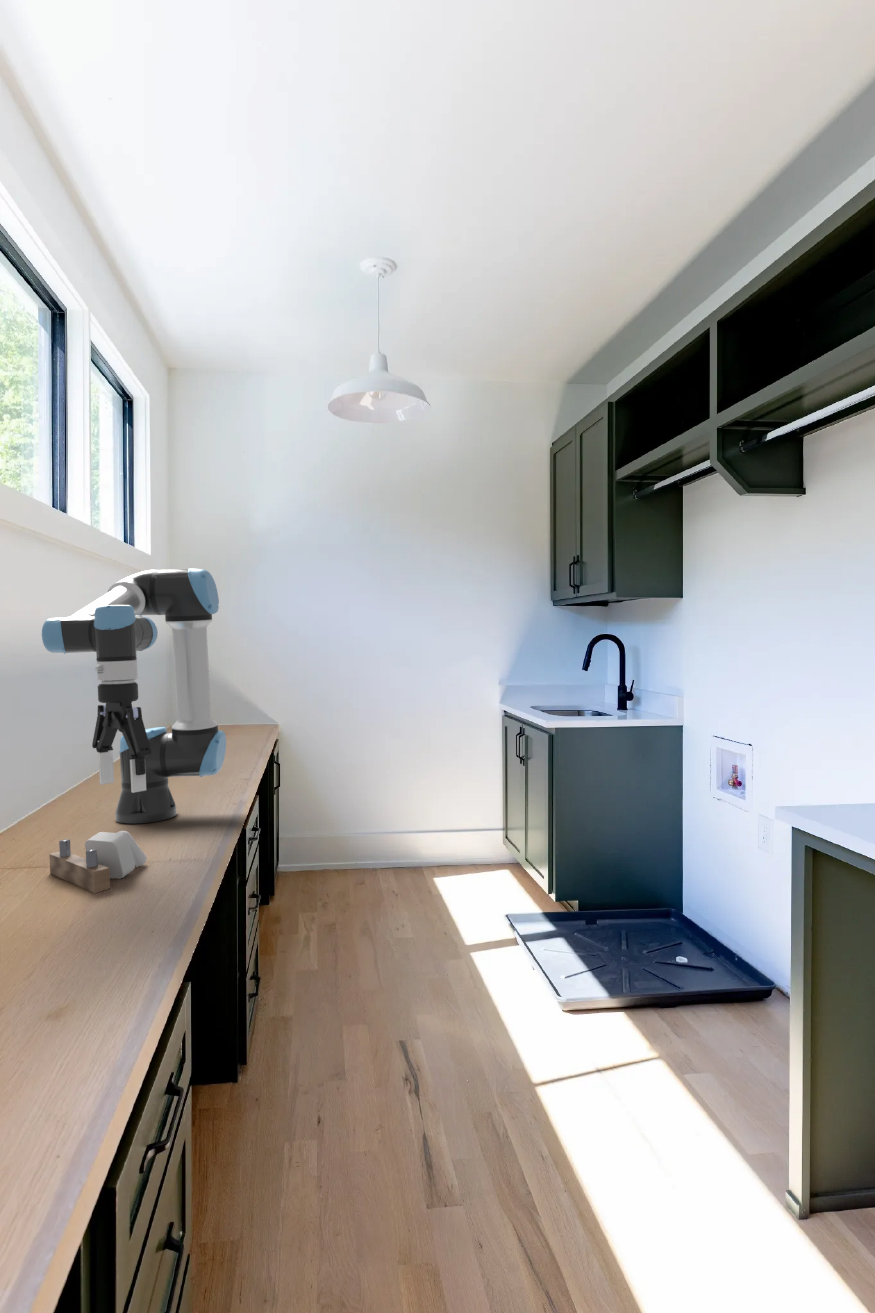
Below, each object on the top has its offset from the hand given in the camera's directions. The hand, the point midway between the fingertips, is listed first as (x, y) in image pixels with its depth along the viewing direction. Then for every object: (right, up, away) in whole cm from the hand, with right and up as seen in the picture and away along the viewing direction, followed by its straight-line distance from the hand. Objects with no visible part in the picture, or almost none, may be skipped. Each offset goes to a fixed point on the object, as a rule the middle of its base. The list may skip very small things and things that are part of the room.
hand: (122, 787), depth 164 cm
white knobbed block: (0, -18, +1) cm, 18 cm away
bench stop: (-7, -18, -5) cm, 19 cm away
